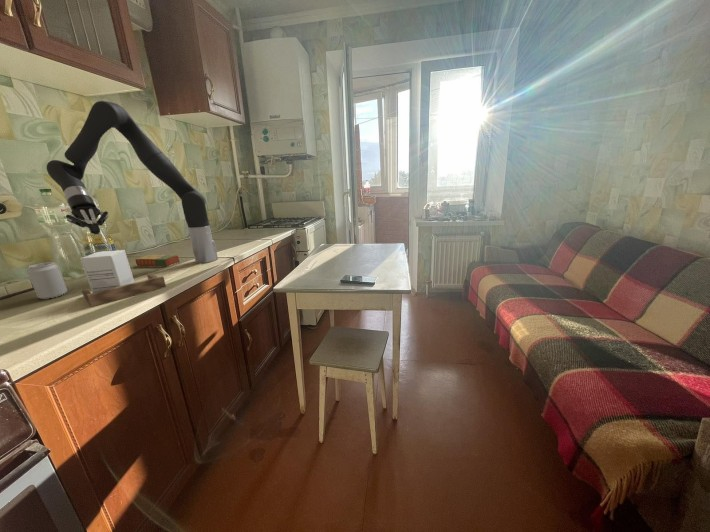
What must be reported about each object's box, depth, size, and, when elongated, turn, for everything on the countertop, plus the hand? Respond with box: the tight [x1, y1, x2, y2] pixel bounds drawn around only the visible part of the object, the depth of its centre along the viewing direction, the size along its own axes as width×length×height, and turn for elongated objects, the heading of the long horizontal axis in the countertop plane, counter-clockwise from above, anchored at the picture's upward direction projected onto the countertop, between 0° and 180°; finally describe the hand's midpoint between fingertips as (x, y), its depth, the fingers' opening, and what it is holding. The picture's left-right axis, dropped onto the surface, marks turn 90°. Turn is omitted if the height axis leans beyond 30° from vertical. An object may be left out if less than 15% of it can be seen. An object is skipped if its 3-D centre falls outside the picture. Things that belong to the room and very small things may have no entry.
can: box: [26, 261, 68, 300], centre depth 98 cm, size 8×8×12 cm
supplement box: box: [80, 249, 135, 293], centre depth 97 cm, size 9×9×15 cm
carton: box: [134, 254, 180, 267], centre depth 135 cm, size 8×16×4 cm, turn 83°
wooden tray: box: [80, 273, 167, 308], centre depth 101 cm, size 21×15×4 cm
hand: (96, 232), depth 108 cm, fingers closed
